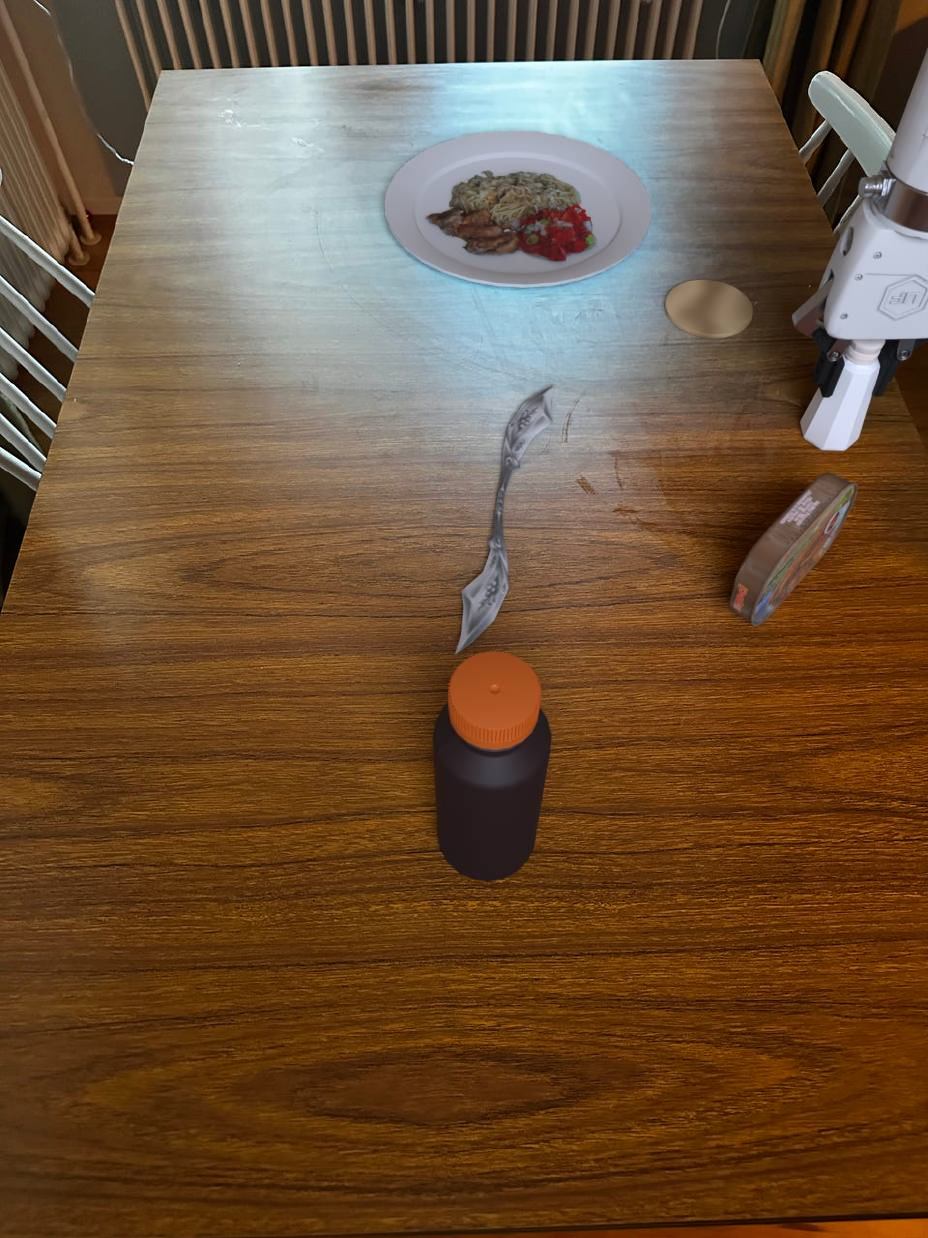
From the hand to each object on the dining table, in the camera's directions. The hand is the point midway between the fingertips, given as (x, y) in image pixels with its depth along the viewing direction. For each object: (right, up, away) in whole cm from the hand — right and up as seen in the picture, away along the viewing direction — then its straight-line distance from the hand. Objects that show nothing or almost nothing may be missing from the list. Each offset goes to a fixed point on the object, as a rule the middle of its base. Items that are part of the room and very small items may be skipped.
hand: (848, 384), depth 84 cm
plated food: (-28, +25, +24) cm, 45 cm away
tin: (-8, -17, -5) cm, 20 cm away
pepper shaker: (0, -3, +5) cm, 6 cm away
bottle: (-32, -36, -18) cm, 52 cm away
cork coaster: (-9, +11, +15) cm, 21 cm away
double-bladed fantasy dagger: (-30, -11, -1) cm, 32 cm away
